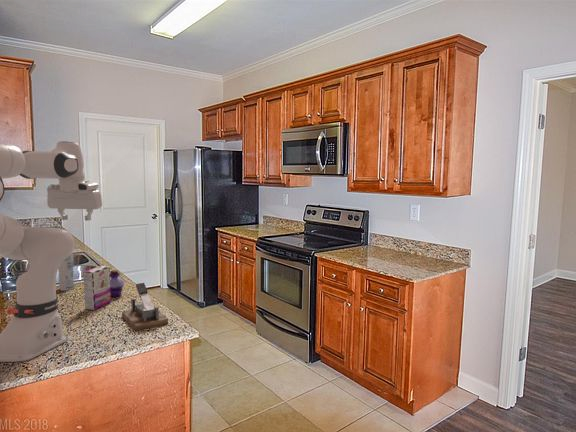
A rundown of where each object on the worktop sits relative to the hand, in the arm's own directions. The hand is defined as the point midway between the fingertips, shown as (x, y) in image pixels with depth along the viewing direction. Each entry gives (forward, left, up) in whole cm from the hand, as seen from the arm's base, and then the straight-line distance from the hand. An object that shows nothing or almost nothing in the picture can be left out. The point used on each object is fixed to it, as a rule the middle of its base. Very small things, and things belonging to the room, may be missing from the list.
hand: (76, 220), depth 151 cm
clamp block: (-1, -27, -37) cm, 46 cm away
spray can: (+35, +29, -39) cm, 60 cm away
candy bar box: (+13, 0, -39) cm, 41 cm away
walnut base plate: (-1, -27, -39) cm, 47 cm away
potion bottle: (+27, 0, -39) cm, 47 cm away
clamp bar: (-2, -27, -30) cm, 41 cm away
